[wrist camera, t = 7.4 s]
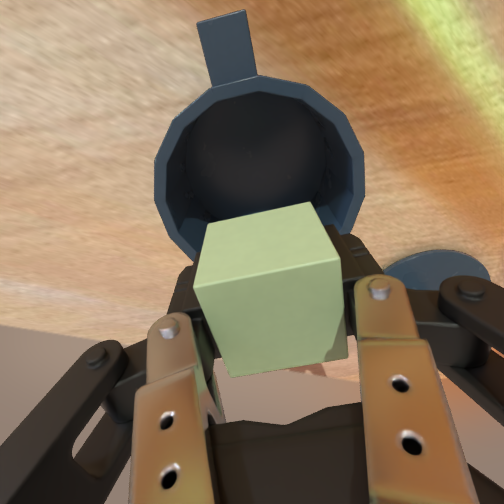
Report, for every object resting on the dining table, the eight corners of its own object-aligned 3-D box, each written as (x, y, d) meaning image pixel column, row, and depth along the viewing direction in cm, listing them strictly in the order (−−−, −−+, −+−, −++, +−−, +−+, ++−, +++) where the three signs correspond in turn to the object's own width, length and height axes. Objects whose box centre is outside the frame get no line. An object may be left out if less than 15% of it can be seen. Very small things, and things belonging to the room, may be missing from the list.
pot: (320, 7, 19) (359, -27, 13) (339, 242, 28) (368, 293, 22) (139, 57, 20) (90, 49, 14) (213, 268, 29) (204, 322, 23)
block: (310, 200, 11) (341, 257, 8) (321, 284, 13) (349, 358, 10) (207, 223, 11) (191, 287, 8) (233, 301, 13) (230, 379, 10)
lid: (495, 233, 28) (566, 277, 22) (473, 332, 35) (521, 387, 29) (352, 261, 29) (381, 310, 23) (357, 351, 36) (380, 408, 30)
